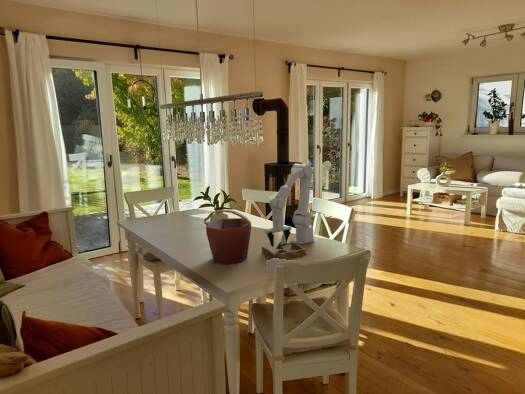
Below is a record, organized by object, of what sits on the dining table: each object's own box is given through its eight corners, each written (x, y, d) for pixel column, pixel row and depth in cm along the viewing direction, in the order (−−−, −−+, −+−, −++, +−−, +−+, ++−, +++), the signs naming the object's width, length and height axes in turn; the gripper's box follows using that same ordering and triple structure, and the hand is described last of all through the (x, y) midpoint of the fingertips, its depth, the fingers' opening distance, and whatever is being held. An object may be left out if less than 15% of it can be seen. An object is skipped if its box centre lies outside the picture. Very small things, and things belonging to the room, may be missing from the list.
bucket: (197, 261, 188) (193, 213, 183) (225, 248, 206) (222, 204, 201) (236, 270, 174) (233, 218, 169) (262, 255, 192) (260, 208, 187)
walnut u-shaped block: (292, 246, 204) (292, 241, 204) (305, 254, 191) (305, 249, 190) (262, 251, 198) (261, 246, 197) (273, 260, 184) (273, 255, 183)
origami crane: (270, 239, 200) (279, 229, 193) (287, 244, 204) (296, 234, 197) (271, 256, 193) (280, 247, 186) (288, 261, 197) (298, 252, 190)
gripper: (286, 216, 202) (287, 240, 205) (262, 220, 197) (263, 245, 200) (292, 219, 196) (293, 244, 198) (267, 223, 191) (268, 248, 193)
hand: (278, 245), depth 199 cm, fingers open, 7 cm apart
